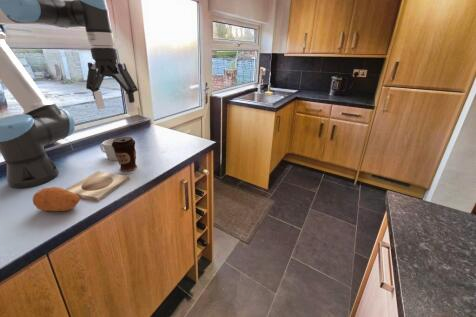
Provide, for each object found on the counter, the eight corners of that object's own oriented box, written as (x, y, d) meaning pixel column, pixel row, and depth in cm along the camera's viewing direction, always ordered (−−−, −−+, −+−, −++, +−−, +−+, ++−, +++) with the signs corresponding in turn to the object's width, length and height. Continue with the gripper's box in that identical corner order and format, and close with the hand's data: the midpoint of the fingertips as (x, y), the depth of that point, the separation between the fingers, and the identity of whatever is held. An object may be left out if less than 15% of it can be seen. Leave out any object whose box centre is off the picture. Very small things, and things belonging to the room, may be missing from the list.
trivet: (63, 193, 80) (62, 190, 80) (98, 173, 93) (97, 170, 93) (98, 200, 76) (97, 197, 76) (129, 178, 90) (129, 176, 89)
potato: (52, 199, 77) (45, 181, 74) (87, 203, 75) (80, 184, 72) (31, 213, 71) (22, 193, 68) (68, 218, 69) (61, 198, 66)
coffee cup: (131, 174, 93) (124, 143, 88) (113, 172, 95) (105, 142, 89) (143, 164, 101) (138, 136, 95) (126, 162, 102) (120, 134, 97)
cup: (97, 160, 105) (92, 143, 101) (109, 153, 112) (105, 137, 109) (117, 162, 103) (113, 145, 99) (129, 155, 110) (125, 139, 106)
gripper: (63, 46, 78) (81, 109, 87) (126, 47, 72) (138, 115, 81) (82, 47, 84) (97, 105, 93) (141, 47, 78) (151, 110, 87)
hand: (116, 110), depth 87 cm, fingers open, 13 cm apart
